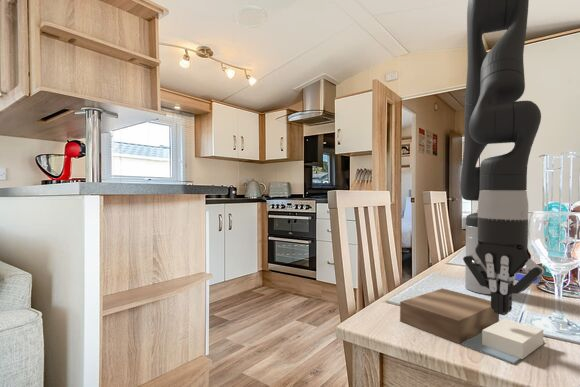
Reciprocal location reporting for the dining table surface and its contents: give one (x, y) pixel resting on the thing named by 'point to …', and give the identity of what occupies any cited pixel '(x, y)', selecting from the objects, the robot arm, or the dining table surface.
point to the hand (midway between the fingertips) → (500, 313)
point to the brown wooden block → (448, 314)
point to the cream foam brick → (512, 338)
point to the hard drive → (520, 276)
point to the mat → (489, 349)
